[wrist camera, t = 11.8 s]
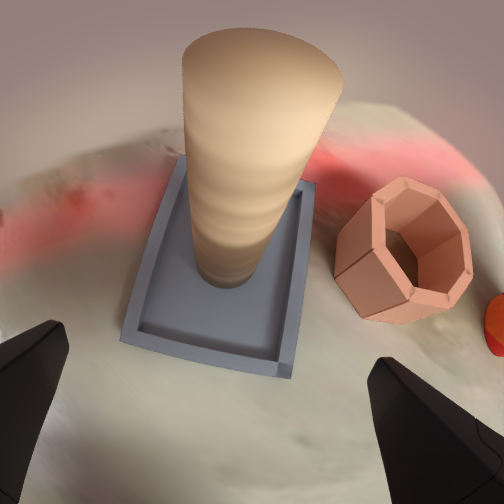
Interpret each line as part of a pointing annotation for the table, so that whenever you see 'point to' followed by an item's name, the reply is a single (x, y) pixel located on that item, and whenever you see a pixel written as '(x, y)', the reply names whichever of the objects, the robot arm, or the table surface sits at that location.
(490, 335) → the paper cup
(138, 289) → the slate tray
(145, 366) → the table surface
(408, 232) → the pot
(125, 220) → the table surface
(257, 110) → the oak peg
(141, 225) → the table surface
